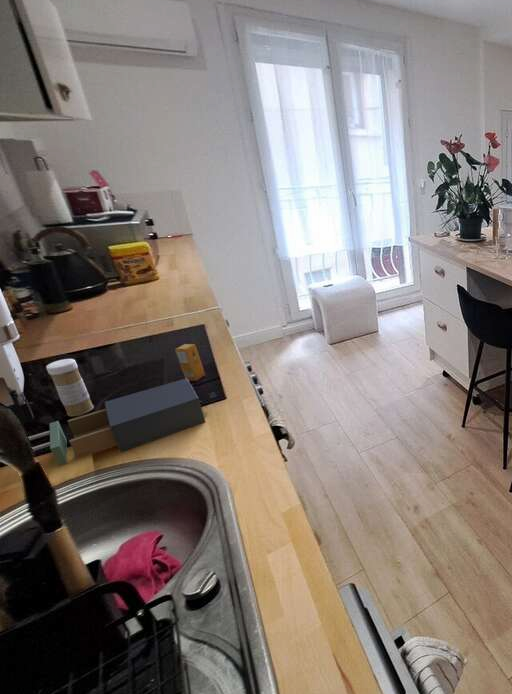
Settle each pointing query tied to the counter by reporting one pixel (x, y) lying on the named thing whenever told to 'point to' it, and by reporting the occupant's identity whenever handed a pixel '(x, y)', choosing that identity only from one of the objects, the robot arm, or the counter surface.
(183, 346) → the supplement box
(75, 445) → the drawer
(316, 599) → the counter surface
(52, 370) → the sprinkles bottle
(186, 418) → the cabinet
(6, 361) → the robot arm
